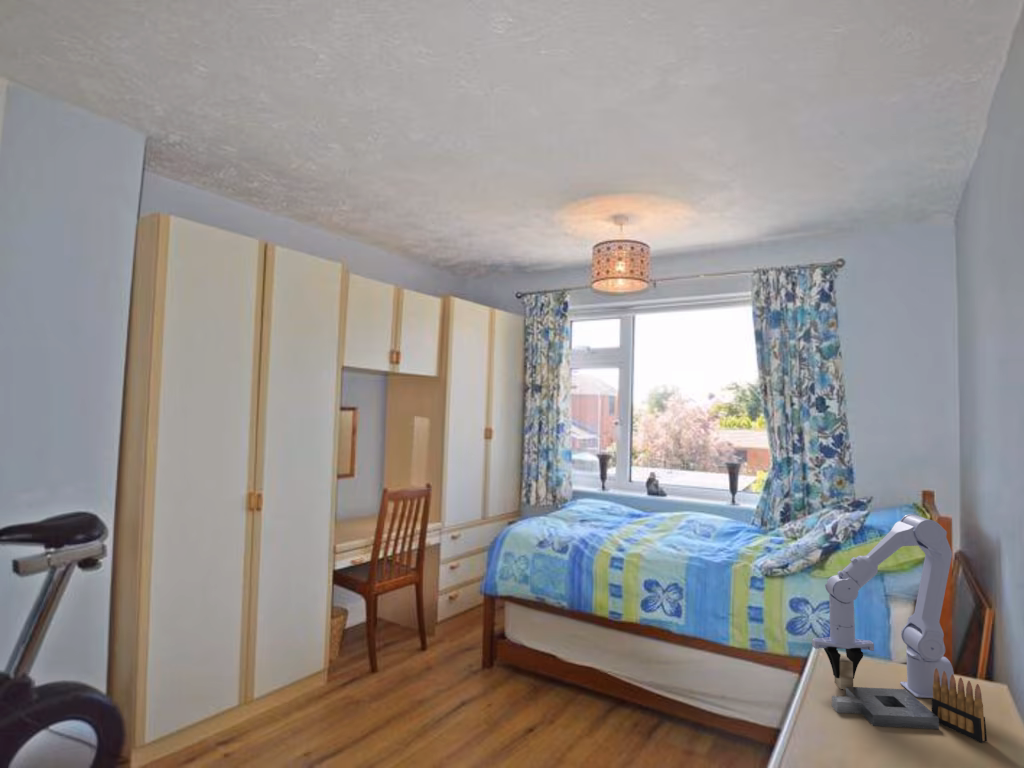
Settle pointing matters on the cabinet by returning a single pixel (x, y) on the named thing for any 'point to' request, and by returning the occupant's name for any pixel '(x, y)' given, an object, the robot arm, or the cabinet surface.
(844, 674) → the oak wedge
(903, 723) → the steel bracket head
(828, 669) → the cabinet surface
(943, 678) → the ammunition clip
